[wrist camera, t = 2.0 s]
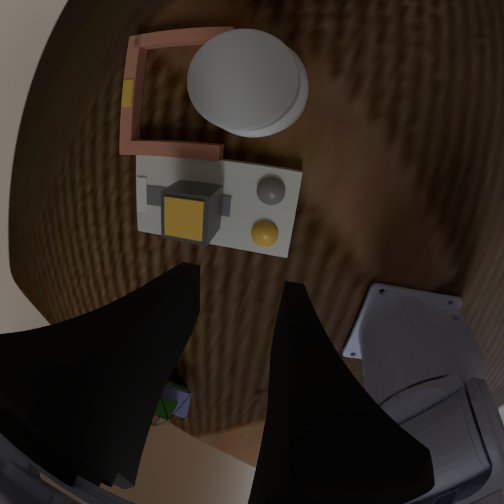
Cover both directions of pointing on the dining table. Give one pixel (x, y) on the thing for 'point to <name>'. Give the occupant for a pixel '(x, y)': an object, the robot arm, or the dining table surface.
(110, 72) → the dining table surface
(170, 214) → the block
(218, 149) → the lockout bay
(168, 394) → the geometric puzzle
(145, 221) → the panel
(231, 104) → the supplement bottle
